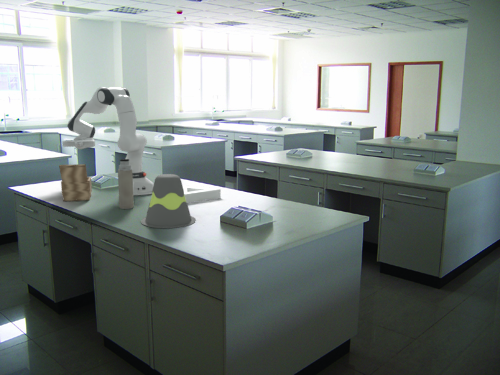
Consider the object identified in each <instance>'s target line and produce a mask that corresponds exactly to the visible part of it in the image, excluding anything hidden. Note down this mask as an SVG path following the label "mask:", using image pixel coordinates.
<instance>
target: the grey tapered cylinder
mask: <svg viewBox="0 0 500 375" xmlns="http://www.w3.org/2000/svg"><path fill="white" fill-rule="evenodd" d="M153 184H154V186H153V190H152V194H151V197H150V202H149V204H148V207H147V208H148V209H147V213H146V216H145V217H144V218H142V219H141V221H140V223H141V225H143V226H144V227H149V228H153V229H154V228H155V229H177V228H184V227H187V226H191V225H193V224H195V223H196V222H197V220H196V217H194V216H192V215H191V213H190V209H189V205H188V204H189V203H186V199H185V196H184V190H183V186H184V185H183V183H182V179H181V176H179V175H177V174H173V173H164V174H160V175H157V176H156V177H155V179H154V182H153ZM195 221H196V222H195Z"/></svg>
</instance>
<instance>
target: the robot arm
mask: <svg viewBox="0 0 500 375" xmlns="http://www.w3.org/2000/svg"><path fill="white" fill-rule="evenodd" d="M113 105H114V106H115V108H116V113H117V118H118V122H119V138H118V139H117V147H118V149H119V150H121V151H122V152H127V154H126V156H125V158H124V159H129V164H130V165H131V169H132V175H133V196H145V195H152V190H153V186H154V182H153V181H152V180H150V179H149V178H147V173H146V172H145V171H143V156H144V150H145V147H146V145H147V143H148V142H147V138H146V136H145V135H144V134H141V133H140V132H139V133H137V131H136V129H137V125H138V120H137V115H136V111H135V106H134V103H133V101H132V98H131V96H130V92H129V90H128V89H127V88H125V87H122V86H121V87H117V86H110V87H109V86H108V87H107V86H106V87H104V86H100V87H98V88H97V89H96V90H95V92H94V93H93V95H92V96H91V99H90V100H87V101H84V102H83V103H82V104H81V106H79V108H78V109H77V111H76V112H75V114H74V115H73V116H72V117H71V118H70V119H69V120H68V123H67V129H68V131H70V132H72V133H76V134H78V135H77V136H76V137H74V138H73V140H63V141H62V147H63V148H65V147H67V148H68V147H69V148H71V147H74V148H76V149H77V150H83V149H86V148H87V149H88V148H93V147H96V141H95V139H94V137H95V134H96V127H95V125H92V124H90V123H89V122H86V121H85V120H82V119H80V118H82V116H83V114H86V113H87V114H88V113H89V114H94V115H99V114H100V115H101V114H103V113H104V112H105V111H106V110H107V108H108V106H113Z"/></svg>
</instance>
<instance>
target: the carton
mask: <svg viewBox="0 0 500 375" xmlns="http://www.w3.org/2000/svg"><path fill="white" fill-rule="evenodd" d="M87 178H88V182H62V180H61V181H60V185H61V186H60V187H61V197H62V199H63V201H62V202H79V201H90V200H91V197H92V192H93V189H92V188H93V186H92V177H91V176H87Z"/></svg>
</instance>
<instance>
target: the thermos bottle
mask: <svg viewBox="0 0 500 375" xmlns="http://www.w3.org/2000/svg"><path fill="white" fill-rule="evenodd" d="M119 161H120V162H119V163H120V164H119V165H118V169H117V182H118V183H117V184H118V204H119V209H122V210H130V209H133V208H134V206H135V205H134V204H135V202H134V195H133V175H132V169H131V165H130V164H129V159H125V158H122V159H119Z"/></svg>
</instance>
